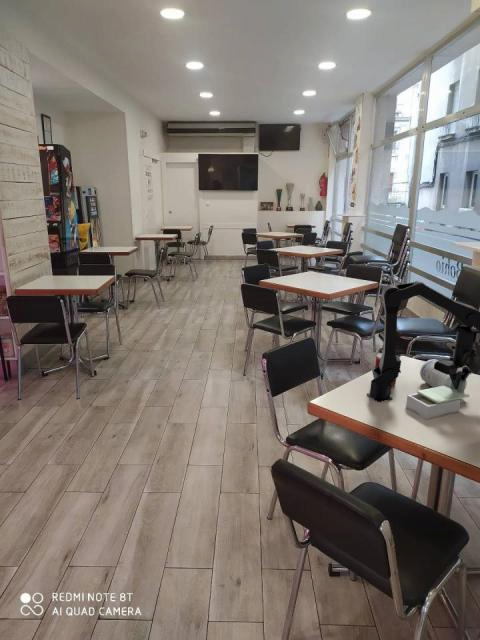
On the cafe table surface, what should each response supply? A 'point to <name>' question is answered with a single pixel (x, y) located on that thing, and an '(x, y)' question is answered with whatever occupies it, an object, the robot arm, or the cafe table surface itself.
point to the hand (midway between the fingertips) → (457, 388)
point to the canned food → (378, 365)
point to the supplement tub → (434, 375)
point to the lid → (445, 393)
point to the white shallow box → (431, 406)
